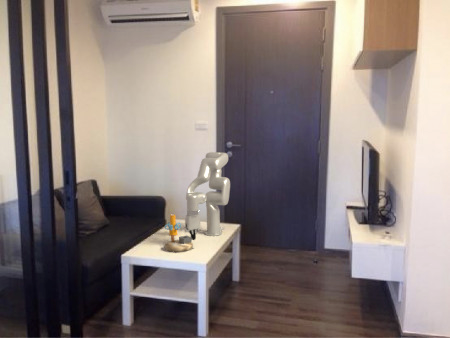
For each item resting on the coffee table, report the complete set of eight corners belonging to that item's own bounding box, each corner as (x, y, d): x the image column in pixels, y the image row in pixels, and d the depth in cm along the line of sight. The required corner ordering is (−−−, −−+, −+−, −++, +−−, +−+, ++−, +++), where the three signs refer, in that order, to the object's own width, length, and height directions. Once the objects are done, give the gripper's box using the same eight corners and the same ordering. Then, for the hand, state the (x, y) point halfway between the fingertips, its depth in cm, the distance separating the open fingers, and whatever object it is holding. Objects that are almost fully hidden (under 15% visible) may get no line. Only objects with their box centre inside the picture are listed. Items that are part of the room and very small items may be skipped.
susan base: (182, 243, 293) (182, 243, 293) (193, 248, 282) (193, 248, 282) (164, 247, 284) (164, 247, 284) (175, 253, 273) (175, 252, 273)
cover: (186, 240, 290) (186, 235, 289) (191, 242, 285) (191, 237, 285) (179, 242, 286) (178, 237, 286) (183, 244, 281) (183, 238, 281)
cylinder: (177, 237, 308) (177, 217, 306) (163, 236, 310) (163, 216, 308) (182, 232, 320) (182, 213, 318) (169, 232, 322) (168, 212, 320)
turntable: (183, 241, 295) (182, 232, 294) (198, 247, 281) (197, 238, 280) (160, 246, 284) (159, 237, 283) (174, 253, 270) (174, 243, 269)
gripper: (198, 210, 295) (199, 236, 297) (180, 213, 285) (180, 240, 288) (205, 212, 289) (205, 238, 291) (186, 215, 280) (187, 242, 282)
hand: (193, 239), depth 289 cm, fingers closed
